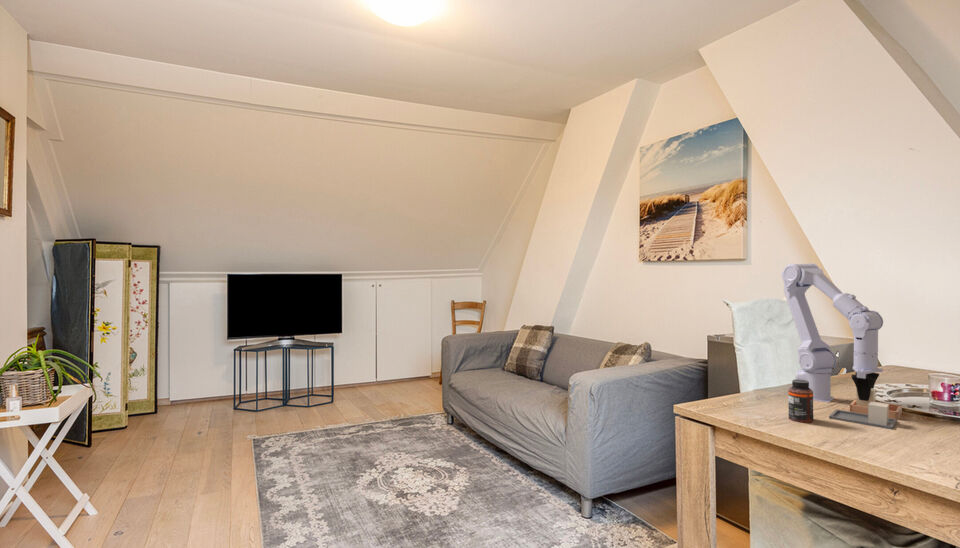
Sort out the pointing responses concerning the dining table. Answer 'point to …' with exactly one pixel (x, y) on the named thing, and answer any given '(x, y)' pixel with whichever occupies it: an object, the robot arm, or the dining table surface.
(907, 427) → the dining table surface
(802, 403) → the supplement bottle
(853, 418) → the parts tray
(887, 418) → the cream cube on tray
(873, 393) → the tan cube
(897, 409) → the terracotta dish
